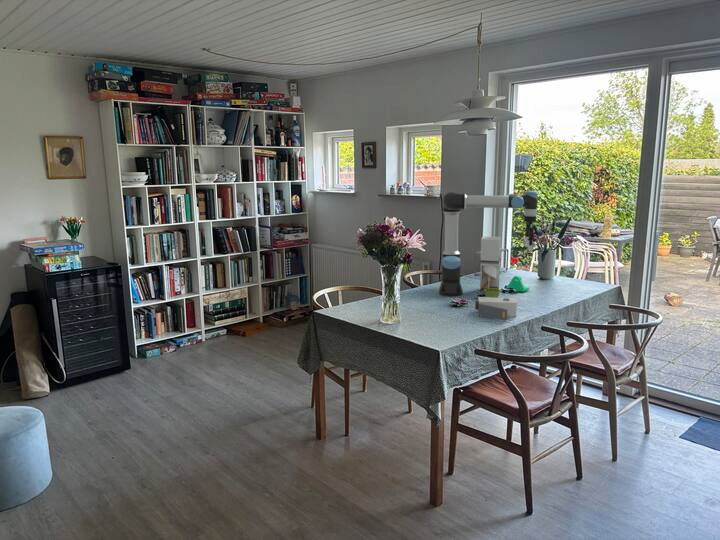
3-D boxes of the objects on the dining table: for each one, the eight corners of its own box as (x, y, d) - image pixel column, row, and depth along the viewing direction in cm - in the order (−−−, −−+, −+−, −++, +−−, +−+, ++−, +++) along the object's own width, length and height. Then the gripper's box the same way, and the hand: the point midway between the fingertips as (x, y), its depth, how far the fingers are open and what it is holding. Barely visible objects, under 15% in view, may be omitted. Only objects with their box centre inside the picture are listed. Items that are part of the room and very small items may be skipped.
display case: (479, 292, 349) (481, 238, 342) (481, 288, 359) (483, 236, 352) (497, 293, 346) (499, 239, 339) (498, 289, 356) (501, 237, 348)
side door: (477, 314, 297) (477, 304, 296) (479, 313, 299) (479, 303, 298) (505, 320, 286) (506, 309, 285) (507, 320, 287) (507, 309, 286)
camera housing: (475, 315, 299) (476, 300, 297) (474, 310, 309) (475, 295, 307) (515, 316, 296) (516, 301, 294) (513, 311, 306) (514, 296, 304)
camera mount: (529, 291, 352) (530, 275, 350) (523, 293, 347) (524, 277, 345) (513, 288, 360) (514, 273, 358) (507, 290, 355) (507, 274, 353)
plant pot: (493, 301, 328) (494, 287, 326) (503, 305, 319) (503, 290, 317) (480, 303, 324) (480, 289, 323) (489, 307, 316) (490, 292, 314)
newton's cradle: (486, 278, 390) (487, 253, 387) (474, 275, 397) (474, 252, 394) (507, 271, 411) (508, 248, 407) (495, 269, 418) (496, 247, 415)
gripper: (539, 217, 330) (537, 252, 334) (533, 213, 354) (531, 245, 358) (527, 217, 331) (525, 251, 335) (521, 213, 355) (519, 245, 359)
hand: (528, 248), depth 347 cm, fingers open, 13 cm apart
